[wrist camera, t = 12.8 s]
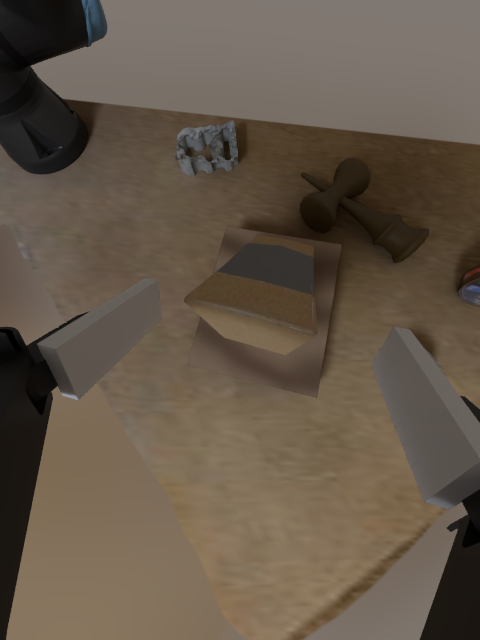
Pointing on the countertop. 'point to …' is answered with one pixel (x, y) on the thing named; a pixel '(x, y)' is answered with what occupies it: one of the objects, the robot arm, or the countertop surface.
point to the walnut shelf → (263, 365)
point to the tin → (471, 287)
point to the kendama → (358, 210)
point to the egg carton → (198, 141)
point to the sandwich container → (262, 295)
